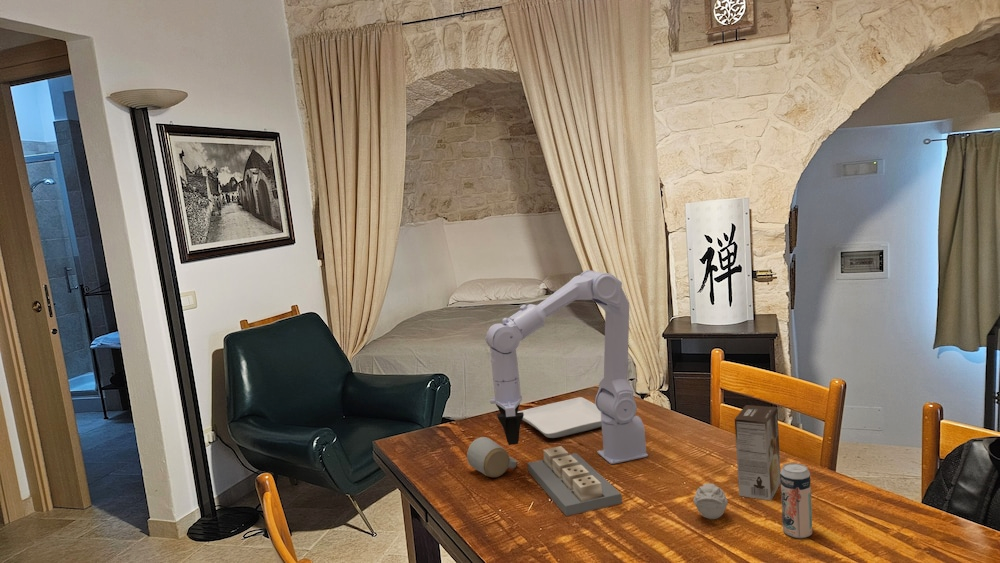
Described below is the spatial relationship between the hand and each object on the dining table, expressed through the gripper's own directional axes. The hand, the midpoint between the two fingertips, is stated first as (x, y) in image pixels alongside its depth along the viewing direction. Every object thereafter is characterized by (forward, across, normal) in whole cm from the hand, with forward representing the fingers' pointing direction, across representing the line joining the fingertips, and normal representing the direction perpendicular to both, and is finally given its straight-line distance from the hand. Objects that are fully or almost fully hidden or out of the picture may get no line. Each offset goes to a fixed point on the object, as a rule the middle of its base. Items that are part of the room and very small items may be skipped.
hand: (512, 437), depth 151 cm
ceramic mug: (+10, -6, -5) cm, 13 cm away
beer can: (+10, +35, +47) cm, 59 cm away
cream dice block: (+8, +3, +11) cm, 14 cm away
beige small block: (+8, +9, +12) cm, 17 cm away
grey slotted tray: (+10, +6, +12) cm, 17 cm away
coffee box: (+10, +17, +48) cm, 52 cm away
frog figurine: (+10, +27, +35) cm, 45 cm away
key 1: (+8, -2, +10) cm, 13 cm away
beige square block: (+8, +15, +14) cm, 22 cm away
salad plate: (+11, -33, +16) cm, 38 cm away
